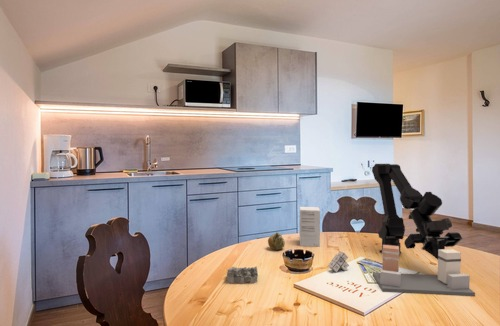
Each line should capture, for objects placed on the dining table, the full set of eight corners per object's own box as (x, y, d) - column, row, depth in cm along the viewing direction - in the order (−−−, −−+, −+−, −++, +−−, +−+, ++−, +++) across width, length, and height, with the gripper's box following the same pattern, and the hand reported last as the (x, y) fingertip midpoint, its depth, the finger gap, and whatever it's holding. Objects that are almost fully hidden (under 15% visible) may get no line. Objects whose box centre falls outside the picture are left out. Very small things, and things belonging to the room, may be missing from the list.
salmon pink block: (382, 272, 121) (382, 244, 120) (398, 274, 119) (399, 246, 118) (382, 276, 117) (382, 247, 116) (398, 279, 115) (399, 249, 114)
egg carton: (225, 284, 115) (225, 272, 115) (227, 276, 122) (227, 264, 122) (257, 284, 115) (257, 272, 114) (257, 276, 122) (257, 264, 122)
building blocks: (340, 276, 126) (353, 259, 128) (332, 268, 124) (345, 250, 126) (331, 272, 131) (343, 255, 133) (323, 263, 129) (335, 246, 131)
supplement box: (299, 240, 168) (299, 206, 167) (318, 241, 166) (319, 206, 166) (299, 246, 158) (299, 209, 158) (320, 246, 157) (320, 210, 156)
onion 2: (288, 248, 155) (288, 230, 155) (280, 252, 148) (280, 234, 148) (273, 245, 159) (273, 228, 159) (265, 250, 152) (265, 232, 152)
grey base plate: (372, 275, 122) (372, 261, 122) (453, 278, 119) (454, 264, 119) (382, 291, 108) (382, 275, 108) (474, 295, 105) (475, 279, 105)
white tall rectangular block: (437, 279, 115) (438, 249, 114) (451, 278, 115) (452, 248, 115) (445, 283, 111) (446, 253, 110) (460, 282, 111) (461, 252, 111)
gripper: (409, 210, 118) (430, 252, 108) (459, 209, 121) (483, 249, 110) (396, 228, 127) (414, 268, 116) (443, 226, 129) (464, 265, 119)
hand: (444, 262), depth 115 cm, fingers closed
